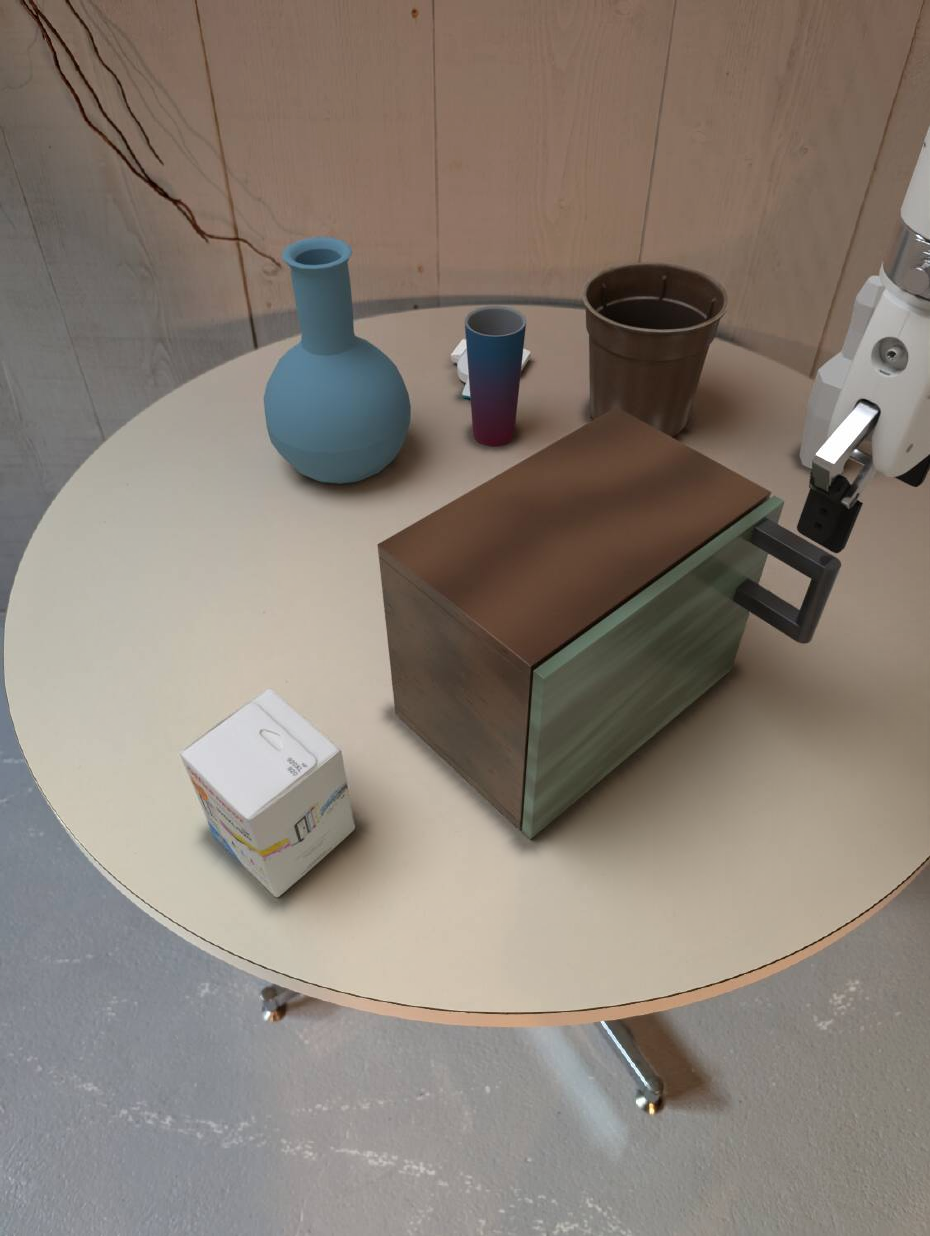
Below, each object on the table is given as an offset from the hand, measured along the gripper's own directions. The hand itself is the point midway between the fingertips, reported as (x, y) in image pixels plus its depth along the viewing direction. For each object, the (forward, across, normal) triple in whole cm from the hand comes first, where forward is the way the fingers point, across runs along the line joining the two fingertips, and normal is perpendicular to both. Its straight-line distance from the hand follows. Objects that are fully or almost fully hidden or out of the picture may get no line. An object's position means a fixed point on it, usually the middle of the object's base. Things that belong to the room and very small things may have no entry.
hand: (860, 507), depth 61 cm
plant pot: (+27, +29, +40) cm, 56 cm away
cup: (+27, +14, +49) cm, 57 cm away
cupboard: (+26, -9, +16) cm, 32 cm away
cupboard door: (+26, -9, +4) cm, 28 cm away
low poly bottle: (+26, +38, +19) cm, 50 cm away
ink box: (+26, -37, +21) cm, 50 cm away
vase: (+27, -3, +58) cm, 64 cm away
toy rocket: (+27, +23, +60) cm, 70 cm away
